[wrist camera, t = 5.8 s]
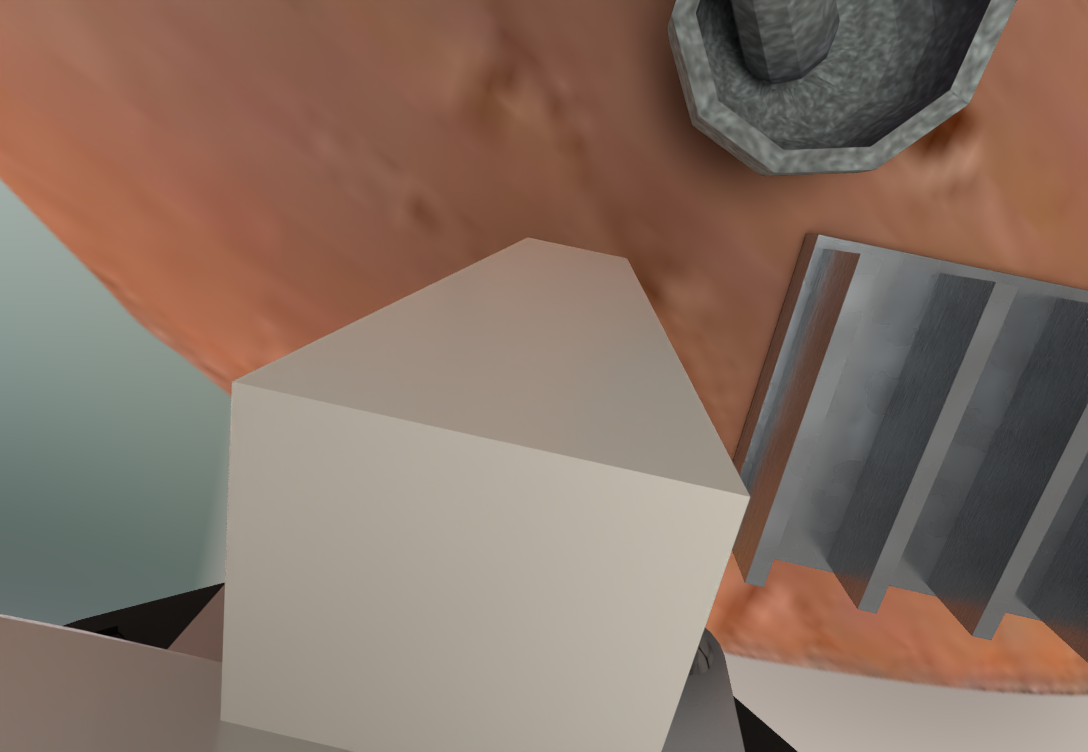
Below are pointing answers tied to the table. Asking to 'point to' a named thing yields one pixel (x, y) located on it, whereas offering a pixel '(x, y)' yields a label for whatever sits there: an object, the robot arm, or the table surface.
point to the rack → (924, 437)
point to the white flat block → (476, 520)
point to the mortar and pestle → (828, 75)
